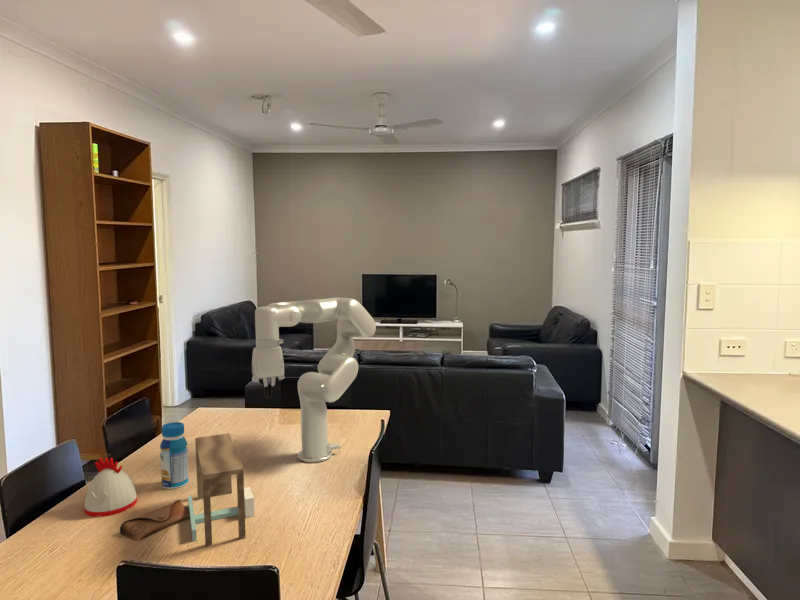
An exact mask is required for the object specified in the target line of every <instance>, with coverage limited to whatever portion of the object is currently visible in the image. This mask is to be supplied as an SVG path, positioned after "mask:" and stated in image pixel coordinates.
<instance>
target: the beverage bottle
mask: <svg viewBox="0 0 800 600" xmlns="http://www.w3.org/2000/svg"><path fill="white" fill-rule="evenodd" d="M184 434H185V424H184V423H183V422H181V421H180V422H179V421H178V422H177V421H173V422H168V423H165V424H163V425H162V426H161V437H162V438H163V439H162V440H161V441H160V446H159V449H160V450H161V451H160V453H159V458H160V468H161V469H160V470H161V471H160V472H161V486H162V488H163V489H167V490H175V489H179V488H180V489H181V488H182V487H185V486H187V485H188V484H189V482H190V480H189V479H190V478H189V460H188V458H189V456H188V455H189V449H188V447H187V446H188V441H187V439H186V437H185V436H184Z"/></svg>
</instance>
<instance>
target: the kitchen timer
mask: <svg viewBox="0 0 800 600" xmlns="http://www.w3.org/2000/svg"><path fill="white" fill-rule="evenodd" d="M118 462H119V461H115V462H114V459H113V457H110V458H109V457H105V458H104V460H103V457H100V458H99V459H98V461H96V462H94V464H95V467H96V469H97V471H98V472H97V474H96V475H95V476H94V478H93V479H92V480H91V482H90V483H89V485H88V488H87V491H86V495H85V499H84V504H83V506H84V507H83V510H84V514H85V515H87V516H89V517H95V518H98V517H99V518H102V517H108V516H110V517H111V516H114V515H118V514H120V513H123V511H124V512H126V511H128V510H130V509H131V508H133V507H134V506H135V505H136V504H137V502H138V499H137V498H138V496H137V491H136V488H135V485H134V484H133V481H132V477H131V476H129V475H128V474H127V473H126V472H125V471H124V470H122V468H123V465H120V466H119V468H118Z"/></svg>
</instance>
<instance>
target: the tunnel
mask: <svg viewBox="0 0 800 600" xmlns="http://www.w3.org/2000/svg"><path fill="white" fill-rule="evenodd" d="M194 439H195V442H194V443H195V460H196V461H195V464H196V465H195V466H196V484H197V485H196V487H197V490H196V491H197V500H202V499H203V513H204V522H203V523H204V543H205V544H204V545H205V548H207V547H212V546H213V532H212V520H211V511H212V505H211V502H212V501H211V498H213V497H218V496H225V495H230V494H232V492H233V491H232V489H233V488H232V485H233V483H232V476H234V475H236V490H237V491H236V494H237V495H236V497H237V506H238V515H237V521H238V522H237V524H238V526H237V527H238V528H237V529H238V539H239V540H243V539H246V538H247V537H246V516H245V503H244V488H245V481H244V480H245V477H244V475H245V474H244V467H243V463H242V462H241V459H240V457H239V454H238V451H237V449H236V446H235V444H234V441H233V439H232V437H231V434H230V433H229V432H228V433H221V434H214V435H209V436H208V435H207V436H206V435H205V436H201V437H195V438H194Z"/></svg>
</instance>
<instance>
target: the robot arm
mask: <svg viewBox="0 0 800 600" xmlns="http://www.w3.org/2000/svg"><path fill="white" fill-rule="evenodd" d="M254 320H255V321H254V324H255V325H254V326H255V327H254V328H255V347H253V350H252V356H251V357H252V359H251V374H252V378H251V380H252V382H253V383H259V384H261V385H262V386H263V396H264V397H265V398H266V399H273V396H274V395H275V388H274V387H275V385H276V384H277V382H279V381H281V380H284V379H285V378H286V377H285V362H284V355H283V350H282V347H281V346H280V345H281V344H284V339H283V338H280V331H279V330H280V327H281V328H284V327H290V328H291V327H295V326H296V325H298V324H299V323H305V324H317V323H323V322H331V321H337V323H336V342H335V343H334V344H333V346H332V347H331V348H330V349H329V350H328V352H326V354H325V355H324V356H323V357H322V359H321V360H319V363H318V364H317V371H318V372H315V371H309V372H305V373H303V374H302V375H300V377H299V379H298V380H297V394H298V397H299V402H300V428H301V430H300V431H301V433H300V435H301V438H300V439H301V450H300V451H298V453H297V459H298V460H299V461H301V462H304V463H320V462H325V461H327V460H329V459H330V458H332V456H333V450H339V449H341V444H340V443H335V442H330V443H329V442H328V408H327V404H326V403H334V402H336V401H338V400H339V399H340V398H341V396H343V394H344V393H345V392H346V390H347V389H348V388H349V387H350V385H352V383H353V382H354V381H355V379H356V378H357V375H358V374H359V373H358V371H359V363H358V361H357V359H356V358H355V357H354V355H355V352H356V349H355V348H356V347H355V342H354V338H356V339H357V338H358V339H369V338H372V337H373V336H374V335H375V334H376V333H375V332H376V331H377V329H376V327H377V325H376V321H375V320H374V318H373V317H372V315H371V314H370V313H369V311H367V310H366V308H365V307H364V306H363V305H362V304H361V303H360V302H359V301H358V300H357V299H355V298H352V297H351V298H348V297H329V298H327V297H326V298H319V299H318V298H317V299H308V300H307V299H306V300H305V299H304V300H297V301H295V300H293V301H283V302H272V303H269V304H268V305H266V306H258V307H257V308H256V309H255V312H254ZM268 379H269V383H268Z"/></svg>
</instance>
